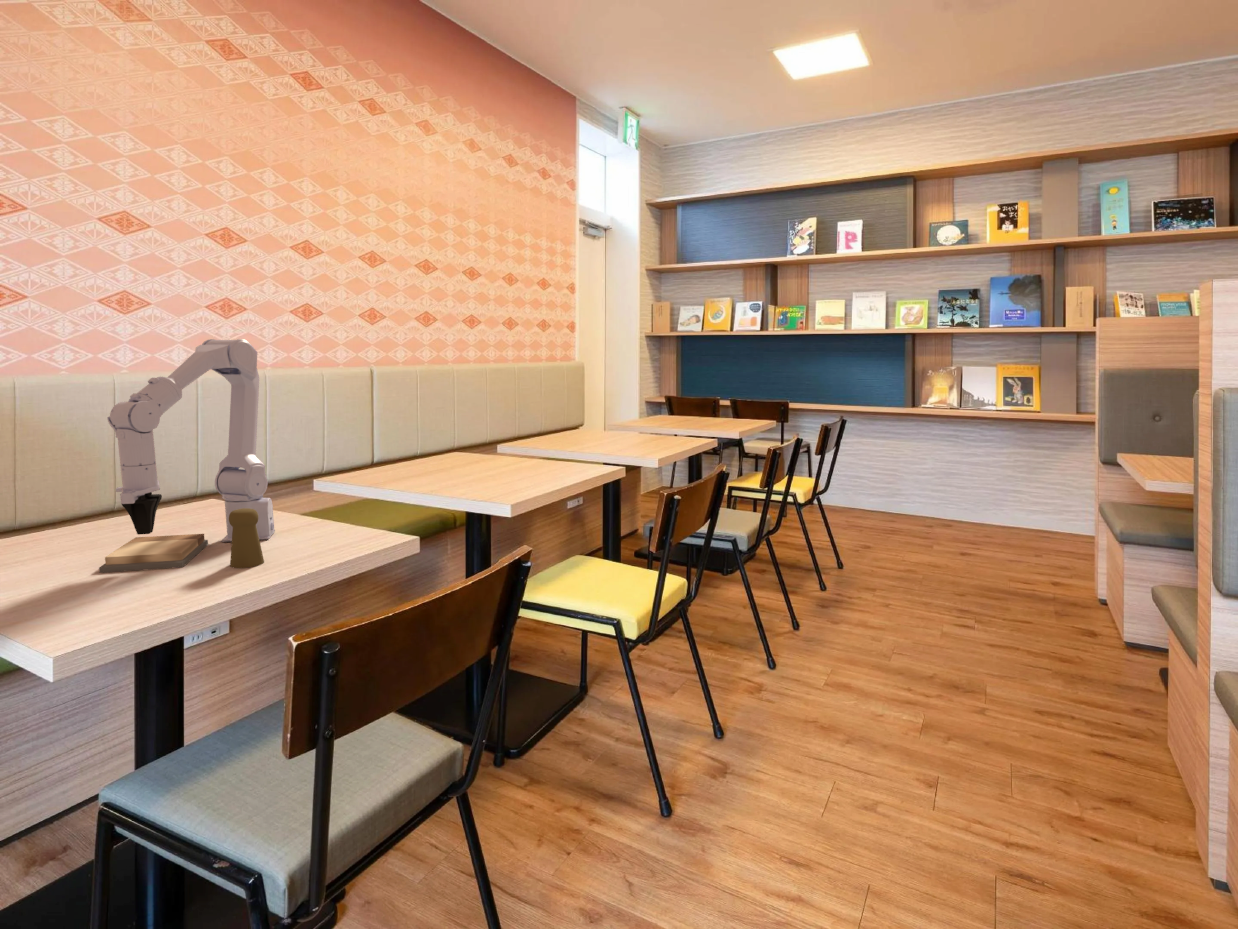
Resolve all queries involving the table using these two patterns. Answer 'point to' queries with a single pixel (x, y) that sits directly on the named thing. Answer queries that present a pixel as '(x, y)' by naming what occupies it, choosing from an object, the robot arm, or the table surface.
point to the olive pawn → (245, 539)
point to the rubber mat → (153, 564)
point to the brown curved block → (169, 538)
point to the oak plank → (152, 551)
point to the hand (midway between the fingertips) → (145, 533)
